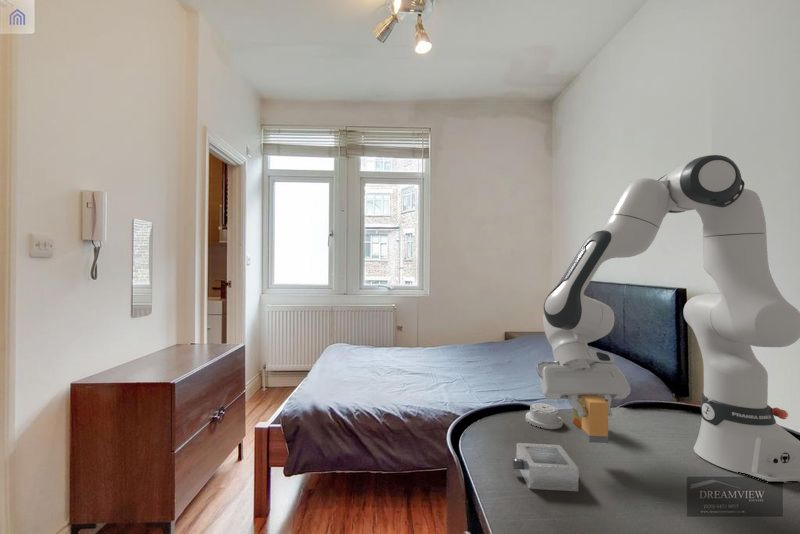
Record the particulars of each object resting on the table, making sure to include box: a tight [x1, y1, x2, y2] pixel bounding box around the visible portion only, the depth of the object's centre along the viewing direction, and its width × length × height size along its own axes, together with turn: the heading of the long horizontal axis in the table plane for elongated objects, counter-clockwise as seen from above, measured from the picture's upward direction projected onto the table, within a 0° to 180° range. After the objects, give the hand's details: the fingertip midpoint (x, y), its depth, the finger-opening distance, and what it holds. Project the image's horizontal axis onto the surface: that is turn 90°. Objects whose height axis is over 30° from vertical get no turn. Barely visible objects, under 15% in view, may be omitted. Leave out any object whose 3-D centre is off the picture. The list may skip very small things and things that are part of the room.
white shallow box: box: [511, 442, 580, 492], centre depth 77 cm, size 12×10×4 cm
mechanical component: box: [525, 402, 564, 430], centre depth 104 cm, size 10×4×10 cm
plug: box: [581, 396, 609, 444], centre depth 83 cm, size 4×4×9 cm
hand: (596, 416), depth 82 cm, fingers closed on plug, 4 cm apart
